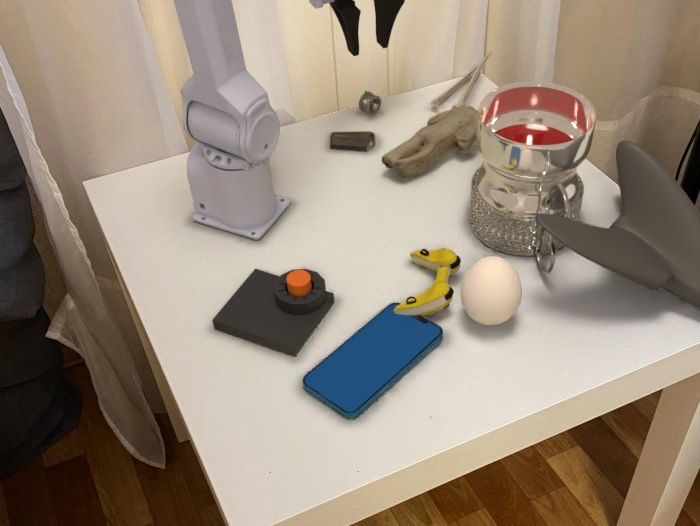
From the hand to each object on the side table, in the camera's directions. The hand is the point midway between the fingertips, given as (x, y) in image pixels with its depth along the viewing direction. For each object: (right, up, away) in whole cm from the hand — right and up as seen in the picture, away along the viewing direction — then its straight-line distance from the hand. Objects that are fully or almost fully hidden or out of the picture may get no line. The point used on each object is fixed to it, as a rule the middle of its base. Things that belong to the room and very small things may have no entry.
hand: (367, 48), depth 111 cm
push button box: (-10, -37, -19) cm, 42 cm away
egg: (+14, -37, -20) cm, 44 cm away
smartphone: (+1, -42, -23) cm, 48 cm away
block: (-2, -12, +3) cm, 13 cm away
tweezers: (+14, +1, +10) cm, 17 cm away
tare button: (-7, -34, -20) cm, 40 cm away
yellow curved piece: (+7, -34, -17) cm, 39 cm away
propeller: (+31, -31, -18) cm, 48 cm away
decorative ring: (0, -6, +7) cm, 10 cm away
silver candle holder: (+20, -26, -10) cm, 35 cm away
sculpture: (+9, -15, 0) cm, 17 cm away
